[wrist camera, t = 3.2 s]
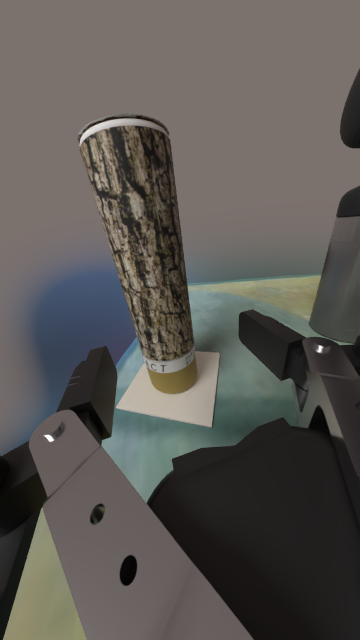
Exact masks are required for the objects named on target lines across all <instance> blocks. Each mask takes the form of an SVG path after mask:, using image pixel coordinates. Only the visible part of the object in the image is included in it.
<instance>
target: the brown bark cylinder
mask: <svg viewBox="0 0 360 640" xmlns="http://www.w3.org/2000/svg"><path fill="white" fill-rule="evenodd" d="M78 143H79V145H80V152H81V155H82V158H83V162H84V165H85V168H86V171H87V175H88V178H89V181H90V185H91V188H92V191H93V194H94V197H95V201H96V204H97V207H98V211H99V214H100V217H101V221H102V224H103V227H104V230H105V233H106V237H107V240H108V243H109V247H110V250H111V253H112V256H113V260H114V263H115V266H116V270H117V273H118V276H119V279H120V283H121V286H122V289H123V292H124V296H125V299H126V302H127V305H128V309H129V312H130V315H131V318H132V322H133V325H134V328H135V332H136V335H137V338H138V341H139V345H140V348H141V351H142V354H143V358H144V361H145V364H146V367H147V370H148V373H149V377H150V380H151V383H152V385H153V386H154V388H156V389H157V390H158V391H160V392H163V393H166V394H176V393H180V392H183V391H185V390H186V389H188V388H189V387H190V386H191V385H192V384H193V383H194V382H195V380H196V377H197V364H196V355H195V346H194V337H193V329H192V320H191V312H190V304H189V295H188V287H187V278H186V271H185V262H184V253H183V245H182V236H181V228H180V220H179V212H178V203H177V195H176V186H175V178H174V170H173V161H172V152H171V144H170V139H169V132H168V129H167V128H166V126H165V125H164V124H163V123H161V122H160V121H158V120H156V119H154V118H151V117H148V116H143V115H136V114H118V115H111V116H106V117H103V118H100V119H97V120H95V121H92V122H90V123H89V124H87V125H86V126H85V127H83V128H82V129H81V131H80V132H79V134H78Z"/></svg>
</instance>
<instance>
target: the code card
mask: <svg viewBox="0 0 360 640" xmlns="http://www.w3.org/2000/svg"><path fill="white" fill-rule="evenodd" d="M195 355H196V364H197V377H196V380H195V382H194V383H193V384H192V385H191V386H190V387H189V388H188V389H186V390H185V391H183V392H180V393H176V394H166V393H163V392H160V391H158V390H157V389H156V388H154V386H153V385H152V383H151V380H150V377H149V373H148V370H147V367H146V364H145V363H144V364H143V366H142V367H141V369H140V370H139V372H138V374H137V375H136V377H135V378H134V380H133V381H132V383H131V385H130V386H129V388H128V389H127V391H126V392H125V394H124V396H123V397H122V399H121V400H120V402H119V403H118V405H117V406H116V409H121V410H126V411H131V412H136V413H141V414H146V415H151V416H156V417H161V418H166V419H171V420H176V421H181V422H186V423H191V424H196V425H201V426H206V427H211V428H212V421H213V412H214V403H215V394H216V385H217V376H218V367H219V358H220V353H215V352H200V351H195Z"/></svg>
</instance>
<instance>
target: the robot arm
mask: <svg viewBox="0 0 360 640" xmlns="http://www.w3.org/2000/svg"><path fill="white" fill-rule="evenodd" d="M340 134H341V139H342V141H343V143H344V144H345V145H346V146H348V147H350V148H360V69H359V71H358V73H357V76H356V78H355V80H354V82H353V85H352V87H351V90H350V92H349V95H348V97H347V101H346V103H345V107H344V110H343V114H342V118H341V125H340ZM336 216H337V217H336V219H335V223H334V227H333V231H332V235H331V239H330V243H329V247H328V252H327V255H326V259H325V263H324V267H323V271H322V275H321V279H320V283H319V287H318V290H317V294H316V298H315V302H314V306H313V310H312V314H311V318H310V322H309V324H310V326H311V328H312V329H314V330H315V331H316V332H318V333H319V334H322V335H324V336H326V337H329V338H332V339H335V340H339V341H344V342H350V343H354V345H339V344H337V343H336V342H334V341H331V340H329V339H325V338H321V337H308V338H306V337H304V336H302V335H301V334H299V333H297V332H295V331H294V330H292V329H290V328H289V327H287V326H285V325H283V324H282V323H279V322H278V321H276V320H275V319H273V318H271V317H268V316H264V315H262V314H260V313H258V312H257V311H255V310H248V311H244V312H241V313H240V314H239V338H240V341H241V342H242V344H243V345H245V346H246V347H247V348H248V349H249V350H250V351H251V352H252V353H253V354H254V355H255V356H256V357H257V358H258V359H259V360H260V361H261V362H262V363H263V364H264V365H265V366H266V367H267V368H268V369H269V370H270V371H271V372H272V373H273V374H274V375H276V376H277V377H278V378H279V379H280V380H281V381H282V380H285V379H288V378H291V379H292V380H293V382H292V388H293V394H294V400H295V406H296V412H297V418H298V426H297V427H296V426H290V425H289V424H288V423H287V422H286V420H285V419H284V418H280V419H277V420H275V421H272V422H269V423H267V424H264V425H261V426H259V427H257V428H256V429H255V430H254V431H252V432H251V433H250V434H249V435H248V436H246V437H245V438H244V439H243V440H242V441H240V442H239V443H238V444H236V445H234V446H226V447H209V448H200V449H197V450H195V451H192V452H189V453H187V454H184V455H181V456H179V457H176V458H173V459H172V463H173V468H174V470H172V471H171V472H170V473H169V474H167V475H166V476H165V478H164V479H163V480H162V481H161V482H160V483H159V484H158V486H157V487H156V488H155V490H154V491H153V493H152V494H151V496H150V498H149V500H148V501H147V503H146V502H145V501H144V500H143V499H142V497H141V496H140V495H139V493H138V492H137V491H136V490H135V488H134V487H133V486H132V484H131V483H130V482H129V481H128V479H127V478H126V477H125V475H124V474H123V473H122V472H121V470H120V469H119V468H118V466H117V465H116V464H115V463H114V461H113V460H112V459H111V457H110V456H109V455H108V454H107V452H106V451H105V450H104V448H103V447H102V446H101V443H102V440H103V439H106V438H109V437H111V434H112V424H113V414H114V405H115V395H116V385H117V371H116V367H115V365H114V362H113V360H112V358H111V355H110V353H109V351H108V349H107V347H106V346H104V347H99V348H95V349H92V350H90V352H89V355H88V357H87V360H86V361H82V362H81V363H80V364H79V365H78V366H77V367H76V369H75V370H74V372H73V375H72V377H71V379H70V382H69V384H68V385H69V386H67V388H66V391H65V393H64V395H63V398H62V400H61V402H60V405H59V407H58V409H57V412H56V413H55V414H53V415H51V416H50V417H48V418H47V419H46V420H44V421H43V422H42V423H41V424H40V425H39V426H38V427H37V429H36V430H35V431H34V433H33V434H32V436H31V438H30V440H29V441H28V442H26V443H24V444H23V445H21V446H19V447H18V448H15V449H14V450H12V451H10V452H8V453H7V454H5V455H3V456H0V640H3V637H4V634H5V631H6V627H7V624H8V620H9V617H10V613H11V610H12V607H13V603H14V600H15V596H16V593H17V589H18V586H19V583H20V579H21V576H22V572H23V569H24V565H25V562H26V559H27V555H28V552H29V548H30V545H31V541H32V538H33V535H34V531H35V528H36V524H37V521H38V517H39V514H40V511H41V508H42V507H43V511H44V514H45V517H46V520H47V523H48V526H49V529H50V532H51V535H52V538H53V541H54V544H55V547H56V550H57V553H58V556H59V559H60V562H61V565H62V568H63V571H64V573H65V576H66V579H67V582H68V585H69V588H70V591H71V594H72V597H73V600H74V603H75V606H76V609H77V612H78V615H79V618H80V621H81V624H82V627H83V630H84V632H85V635H86V638H87V640H360V186H358V187H356V188H354V189H352V190H350V191H348V192H347V193H346V194H345V195H344V196H343V197H342V199H341V201H340V203H339V207H338V211H337V215H336Z"/></svg>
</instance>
